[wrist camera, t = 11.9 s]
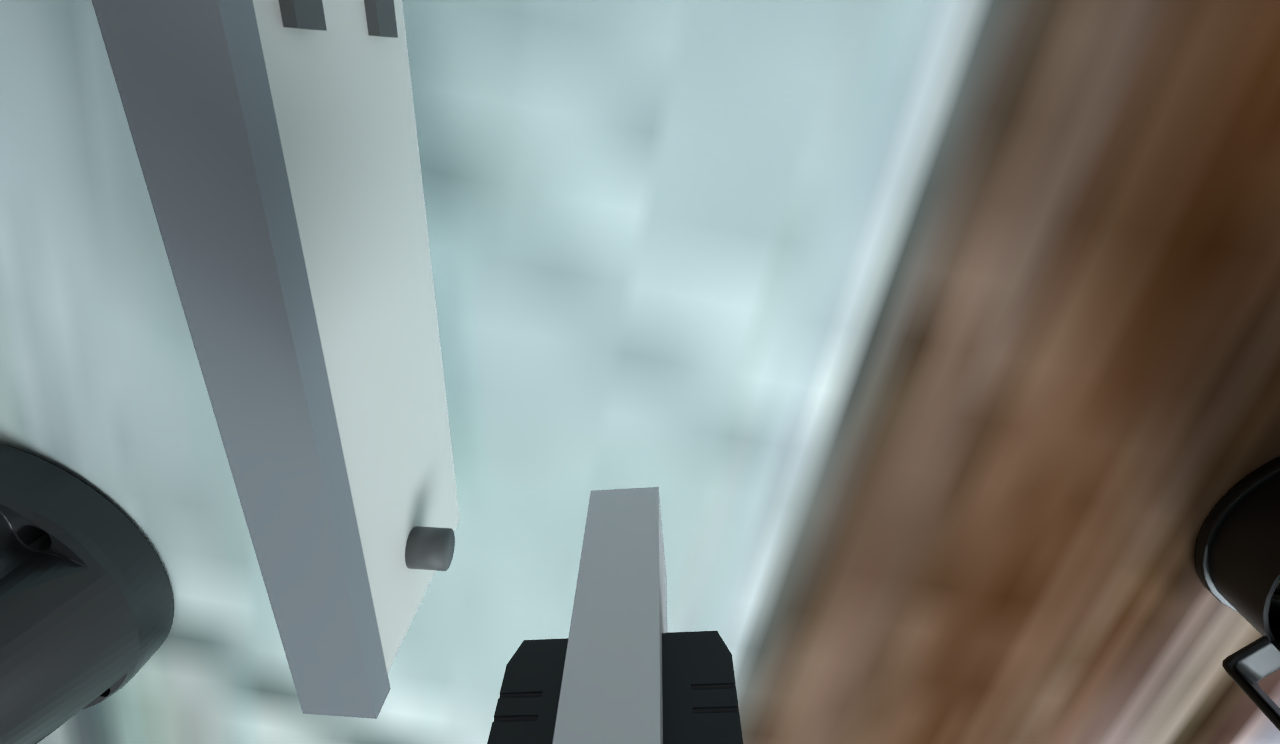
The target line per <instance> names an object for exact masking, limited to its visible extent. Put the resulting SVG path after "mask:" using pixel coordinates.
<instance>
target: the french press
mask: <svg viewBox="0 0 1280 744" xmlns="http://www.w3.org/2000/svg"><path fill="white" fill-rule="evenodd" d="M1195 562H1196V568H1197V572H1198V574H1199V576H1200V578H1201V580H1202V582H1203V584H1204V586H1205V587H1206V588H1207V589H1208V590H1209V591H1210V592H1211V593H1212V594H1213V595H1214V596H1215V597H1216V598H1217V599H1218V600H1219V601H1220V602H1221V603H1223V604H1225V605H1226V606H1228V607H1230V608H1232V609H1233V610H1235V611H1237V612H1239V613H1240V614H1241V615H1242V616H1243V617H1244V618H1245V619H1246V620H1247V621H1248V622H1249V623H1250V624H1251V625H1252V626H1253V627H1254V628H1255V629H1256V630H1257V631H1258V632H1259V633H1260V634H1262V635H1263V637H1261V638H1259V639H1257V640H1256V641H1254V642H1252V643H1251V644H1249V645H1247V646H1245V647H1244V648H1242V649H1240V650H1238V651H1237V652H1235V653H1233V654H1232V655H1230V656H1228V657H1227V658H1226V659H1224V660H1223V667H1224V669H1225V670H1226V672H1227V673H1228V674H1229V675H1230V677H1231V678H1232V679H1233V680H1234V681H1235V682H1236V683H1237V684H1238V685H1239V686H1240V688H1241V689H1242V690H1243V691H1244V692H1245V693H1246V694H1247V695H1248V696H1249V698H1250V699H1251V700H1252V701H1253V702H1254V703H1255V704H1256V705H1257V706H1258V707H1259V709H1260V710H1261V711H1262V712H1263V713H1264V714H1265V715H1266V716H1267V717H1268V718H1269V720H1270V721H1271V722H1272V723H1273V724H1274V725H1275V726H1276V727H1277V728H1278V729H1279V731H1280V708H1279V707H1278V706H1277V705H1276V704H1275V703H1274V702H1273V701H1272V700H1271V699H1270V698H1269V696H1268V695H1267V694H1266V693H1265V692H1264V691H1263V690H1262V689H1261V688H1260V687H1259V685H1258V682H1259V681H1260V680H1261V679H1262V678H1264V677H1266V676H1268V675H1269V674H1271V673H1273V672H1275V671H1277V670H1278V669H1280V595H1274V594H1273V593H1274V591H1275V589H1276V587H1277V585H1278V583H1279V581H1280V457H1279V458H1277V459H1274V460H1273V461H1271V462H1269V463H1268V464H1266V465H1264V466H1263V467H1261V468H1259V469H1258V470H1256V471H1254V472H1253V473H1251V474H1250V475H1248V476H1247V477H1246V478H1245V479H1243V480H1242V481H1241V482H1240V483H1238V484H1237V485H1236V486H1235V487H1233V488H1232V489H1231V490H1230V491H1229V492H1228V493H1227V494H1226V495H1225V496H1224V497H1223V498H1222V499H1221V500H1220V502H1219V503H1218V504H1217V505H1216V506H1215V507H1214V509H1213V510H1212V512H1211V513H1210V515H1209V516H1208V518H1207V519H1206V521H1205V522H1204V524H1203V526H1202V529H1201V531H1200V534H1199V536H1198V539H1197V543H1196V550H1195Z"/></svg>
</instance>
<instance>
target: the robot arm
mask: <svg viewBox="0 0 1280 744" xmlns="http://www.w3.org/2000/svg"><path fill="white" fill-rule="evenodd" d="M173 617H174V599H173V593H172V589H171V585H170V582H169V579H168V576H167V574H166V571H165V569H164V567H163V565H162V563H161V561H160V559H159V557H158V556H157V554H156V553H155V551H154V549H153V548H152V546H151V545H150V544H149V542H148V541H147V540H146V538H145V537H144V536H143V535H142V533H141V532H140V531H139V530H138V529H137V527H136V526H135V525H134V524H133V523H132V522H131V521H130V520H129V519H128V518H127V517H126V516H125V515H124V514H123V513H122V512H121V511H120V510H119V509H117V508H116V507H115V506H114V505H113V504H112V503H111V502H109V501H108V500H107V499H106V498H104V497H103V496H102V495H101V494H99V493H98V492H97V491H95V490H94V489H92V488H91V487H90V486H88V485H87V484H85V483H84V482H82V481H81V480H79V479H77V478H76V477H74V476H72V475H71V474H69V473H67V472H66V471H64V470H62V469H60V468H58V467H56V466H54V465H53V464H50V463H48V462H46V461H44V460H42V459H40V458H38V457H35V456H33V455H30V454H28V453H26V452H23V451H20V450H17V449H15V448H12V447H8V446H5V445H2V444H0V744H37V743H38V742H40V741H41V740H42V739H44V738H45V737H47V736H48V735H49V734H51V733H52V732H53V731H55V730H56V729H57V728H58V727H60V726H61V725H62V724H63V723H65V722H66V721H67V720H68V719H70V718H71V717H72V716H74V715H75V714H76V713H78V712H79V711H80V710H82V709H85V708H88V707H91V706H93V705H95V704H97V703H100V702H101V701H103V700H105V699H106V698H108V697H109V696H111V695H112V694H114V693H115V692H117V691H118V690H119V689H121V688H122V687H123V686H124V685H125V684H126V683H128V682H129V681H130V680H131V679H132V678H133V677H134V676H135V674H136V673H137V672H138V671H139V670H140V669H141V668H142V667H143V665H144V664H145V663H146V662H147V661H148V660H149V659H150V658H151V656H152V655H153V654H154V653H155V652H156V651H157V650H158V649H159V647H160V646H161V645H162V644H163V642H164V641H165V639H166V638H167V636H168V634H169V632H170V629H171V626H172V622H173ZM487 744H743V739H742V731H741V724H740V716H739V710H738V700H737V692H736V686H735V677H734V669H733V661H732V654H731V653H730V651H729V650H728V648H727V646H726V645H725V643H724V641H723V640H722V638H721V637H720V635H719V633H718V632H717V631H700V632H676V633H668V632H667V583H666V569H665V558H664V546H663V534H662V522H661V510H660V498H659V487H652V488H634V489H615V490H597V491H591V494H590V501H589V507H588V514H587V520H586V527H585V534H584V540H583V547H582V553H581V560H580V566H579V573H578V580H577V586H576V593H575V599H574V606H573V612H572V619H571V626H570V632H569V639H545V640H524V641H523V642H522V644H521V645H520V647H519V648H518V650H517V651H516V653H515V654H514V655H513V657H512V658H511V660H510V661H509V663H508V664H507V666H506V670H505V674H504V678H503V682H502V686H501V690H500V698H499V699H498V703H497V707H496V711H495V715H494V722H493V723H492V727H491V731H490V735H489V739H488V743H487Z"/></svg>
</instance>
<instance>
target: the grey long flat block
mask: <svg viewBox="0 0 1280 744" xmlns="http://www.w3.org/2000/svg"><path fill="white" fill-rule="evenodd" d="M92 3H93V6H94V9H95V13H96V16H97V19H98V23H99V26H100V30H101V33H102V36H103V40H104V43H105V46H106V50H107V53H108V57H109V60H110V63H111V67H112V70H113V73H114V77H115V80H116V84H117V87H118V90H119V94H120V97H121V100H122V104H123V107H124V111H125V114H126V117H127V121H128V124H129V127H130V131H131V134H132V138H133V141H134V144H135V148H136V151H137V154H138V158H139V161H140V165H141V168H142V171H143V175H144V178H145V181H146V185H147V188H148V192H149V195H150V198H151V202H152V205H153V208H154V212H155V215H156V219H157V222H158V225H159V229H160V232H161V235H162V239H163V242H164V246H165V249H166V252H167V256H168V259H169V262H170V266H171V269H172V273H173V276H174V279H175V283H176V286H177V289H178V293H179V296H180V300H181V303H182V306H183V310H184V313H185V316H186V320H187V323H188V327H189V330H190V333H191V337H192V340H193V343H194V347H195V350H196V354H197V357H198V360H199V364H200V367H201V370H202V374H203V377H204V381H205V384H206V387H207V391H208V394H209V397H210V401H211V404H212V408H213V411H214V414H215V418H216V421H217V424H218V428H219V431H220V435H221V438H222V441H223V445H224V448H225V451H226V455H227V458H228V462H229V465H230V468H231V472H232V475H233V478H234V482H235V485H236V488H237V492H238V495H239V499H240V502H241V505H242V509H243V512H244V515H245V519H246V522H247V526H248V529H249V532H250V536H251V539H252V542H253V546H254V549H255V553H256V556H257V559H258V563H259V566H260V569H261V573H262V576H263V580H264V583H265V586H266V590H267V593H268V596H269V600H270V603H271V607H272V610H273V613H274V617H275V620H276V623H277V627H278V630H279V634H280V637H281V640H282V644H283V647H284V650H285V654H286V657H287V661H288V664H289V667H290V671H291V674H292V677H293V681H294V684H295V688H296V691H297V694H298V698H299V701H300V704H301V708H302V711H303V713H305V714H319V715H333V716H347V717H361V718H375V719H377V717H378V715H379V712H380V710H381V708H382V706H383V704H384V701H385V699H386V697H387V695H388V693H389V690H390V684H389V679H388V672H389V669H390V667H391V665H392V663H393V661H394V659H395V657H396V655H397V652H398V650H399V648H400V646H401V644H402V642H403V640H404V638H405V636H406V633H407V631H408V629H409V627H410V625H411V623H412V621H413V619H414V616H415V614H416V612H417V610H418V608H419V606H420V604H421V602H422V600H423V597H424V595H425V593H426V591H427V589H428V587H429V585H430V583H431V580H432V578H433V576H434V574H435V572H436V570H438V571H446V570H447V569H448V568H449V566H450V564H451V561H452V558H453V553H454V545H455V537H454V532H455V530H456V528H457V525H458V523H459V521H460V517H459V508H458V499H457V490H456V481H455V472H454V463H453V454H452V444H451V435H450V426H449V417H448V408H447V399H446V390H445V381H444V372H443V363H442V354H441V345H440V336H439V327H438V318H437V309H436V300H435V291H434V282H433V273H432V264H431V255H430V246H429V237H428V228H427V219H426V210H425V201H424V192H423V183H422V174H421V165H420V156H419V147H418V138H417V129H416V120H415V111H414V102H413V93H412V84H411V75H410V66H409V57H408V48H407V39H406V30H405V20H404V11H403V2H402V0H92Z"/></svg>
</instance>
